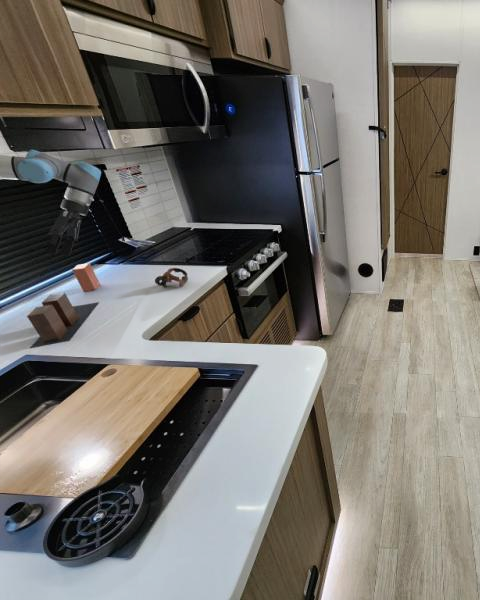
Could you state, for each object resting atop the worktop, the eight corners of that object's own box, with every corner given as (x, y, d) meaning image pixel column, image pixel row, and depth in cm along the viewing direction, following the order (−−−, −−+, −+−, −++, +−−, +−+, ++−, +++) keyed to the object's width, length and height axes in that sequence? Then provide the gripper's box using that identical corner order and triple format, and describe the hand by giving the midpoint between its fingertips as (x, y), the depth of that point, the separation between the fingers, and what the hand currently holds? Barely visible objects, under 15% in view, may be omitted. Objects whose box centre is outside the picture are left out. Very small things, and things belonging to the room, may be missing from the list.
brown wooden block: (56, 328, 112) (40, 302, 107) (63, 319, 117) (49, 295, 112) (71, 325, 114) (57, 300, 109) (78, 317, 118) (64, 292, 114)
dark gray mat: (67, 308, 125) (67, 307, 125) (100, 303, 129) (99, 302, 128) (30, 350, 103) (28, 348, 102) (70, 342, 106) (69, 340, 106)
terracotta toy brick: (82, 291, 137) (71, 269, 133) (88, 286, 142) (77, 264, 137) (95, 290, 139) (84, 268, 134) (100, 284, 144) (89, 263, 139)
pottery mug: (176, 279, 148) (180, 264, 145) (190, 292, 146) (194, 277, 143) (147, 284, 137) (151, 268, 134) (161, 297, 135) (166, 281, 132)
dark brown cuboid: (43, 343, 105) (25, 316, 100) (51, 333, 110) (35, 307, 105) (59, 339, 106) (43, 313, 101) (67, 330, 111) (52, 304, 106)
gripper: (78, 200, 119) (58, 255, 117) (98, 211, 141) (81, 258, 139) (50, 191, 115) (29, 248, 114) (75, 204, 137) (57, 252, 135)
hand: (57, 254), depth 126 cm, fingers open, 13 cm apart
